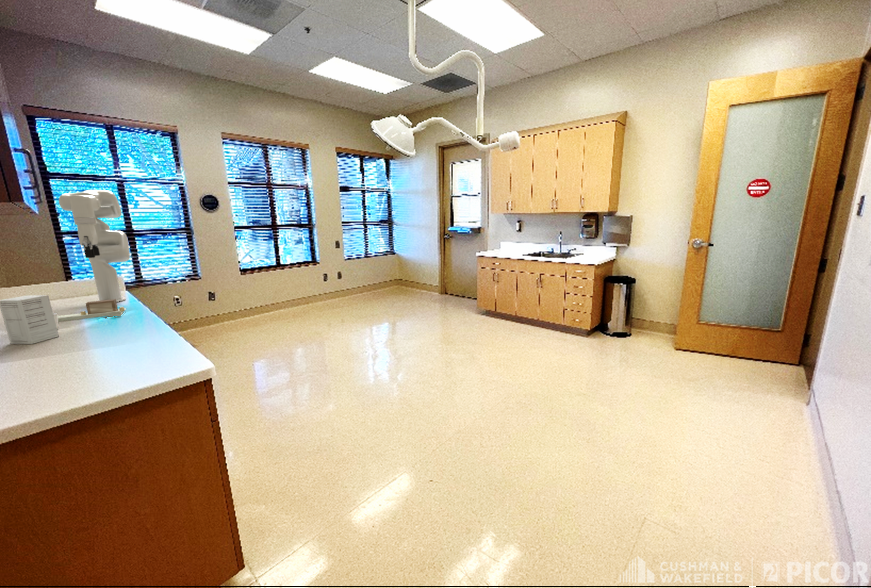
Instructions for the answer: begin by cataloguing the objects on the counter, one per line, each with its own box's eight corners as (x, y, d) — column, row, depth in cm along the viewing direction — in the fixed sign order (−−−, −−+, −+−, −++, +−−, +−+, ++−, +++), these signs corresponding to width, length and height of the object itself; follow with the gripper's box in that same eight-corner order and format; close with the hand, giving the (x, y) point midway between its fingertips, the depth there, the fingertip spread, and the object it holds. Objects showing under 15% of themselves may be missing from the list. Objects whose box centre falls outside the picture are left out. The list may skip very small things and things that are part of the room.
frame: (90, 313, 167) (87, 301, 166) (118, 310, 172) (115, 299, 171) (88, 315, 163) (85, 303, 162) (116, 312, 169) (113, 300, 167)
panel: (51, 319, 163) (50, 312, 163) (127, 310, 178) (126, 304, 177) (40, 326, 152) (38, 319, 151) (122, 316, 166) (120, 310, 165)
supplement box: (60, 336, 137) (50, 294, 134) (31, 344, 128) (19, 300, 125) (38, 336, 138) (28, 294, 135) (9, 344, 129) (-4, 299, 126)
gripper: (80, 221, 174) (87, 255, 178) (68, 222, 160) (77, 259, 164) (100, 221, 178) (107, 254, 182) (91, 221, 164) (99, 258, 168)
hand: (93, 256), depth 173 cm, fingers open, 9 cm apart
